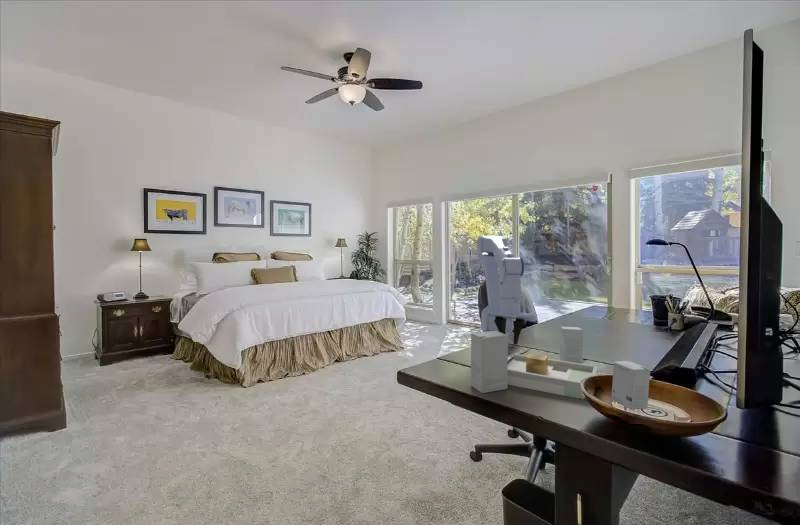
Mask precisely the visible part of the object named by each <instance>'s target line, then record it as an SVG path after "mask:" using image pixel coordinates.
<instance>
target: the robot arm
mask: <svg viewBox="0 0 800 525" xmlns="http://www.w3.org/2000/svg"><path fill="white" fill-rule="evenodd" d="M476 241H477V242H476V252H477V258H478V261H479V262H481V263H482V264H483V268H484V275H485V286H486V295H487V304H488V305H487V306H486V307H484V308H483V309H482V311H481V315H480V316H481V318H480V326H481V330H482V332H488V331H498V332H500V333H503V334H506V335H508V336H510V335H511V333H512V332H513V345H515V346H516V345H518V343H519V339H520V335H521V332H522V329H523V327H524V325H525V323H526V321H527V322H533V323H535V322H536V321H537V314H535V313H528V312H521V292H522V291H521V290H522V288H521V287H522V278H521V277H523V276H524V273H525V260H524V259H523V257H522V256H518V257H516V255H515V254H514V252H513V250H511V248H509V246H508V239H507V237H506V236H505V235H481V234H480V235H479V236H478V237H477V240H476ZM511 359H512V357H511V356H508V362H509V361H510V360H511Z"/></svg>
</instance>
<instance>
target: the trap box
mask: <svg viewBox="0 0 800 525" xmlns="http://www.w3.org/2000/svg"><path fill="white" fill-rule="evenodd" d="M527 356H528V355H525V354H521V353H520V354H519V353H514V354H513V359H512V360H511V361H510V362H509V363H508V379H507V380H508V381H507V386H513V387H517V388H518V387H519V388H523V389H530V390H534V391H539V392H545V393H547V394H548V393H549V394H553V395H554V394H555V395H560V396H565V397H569V398H575V397H576V398H575V399H579V398H582V399H581V400H584V397H583V395H582V393H581V391H580V388H579V384H580V383H581V382H580V381H581V380H582V379H584V378H585V377H587V376H590V375H591V376H592V375H596V374H598V373H599V372H598V371H599V366H597V365H591V364H585V363H583V364H579V363H573V362H566V361H560V359H551V358H548V370H547V371H546V373H545V374H538V373H532V372H527V371H526V357H527Z"/></svg>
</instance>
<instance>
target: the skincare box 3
mask: <svg viewBox="0 0 800 525" xmlns="http://www.w3.org/2000/svg"><path fill="white" fill-rule="evenodd" d="M650 376H651V369H650V368H647V367H645V366H643V365H640V364H638V363H635V362H633V361H630V360H622V361H621V360H619V361H613V369H612V384H611V385H612V386H611V399H610V400H612V401H615V402H617V403H618V404H621V405H623V406H625V407H627V408H629V409H630V410H634V409H647V410H648V404H649V393H650V392H649V388H650Z"/></svg>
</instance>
